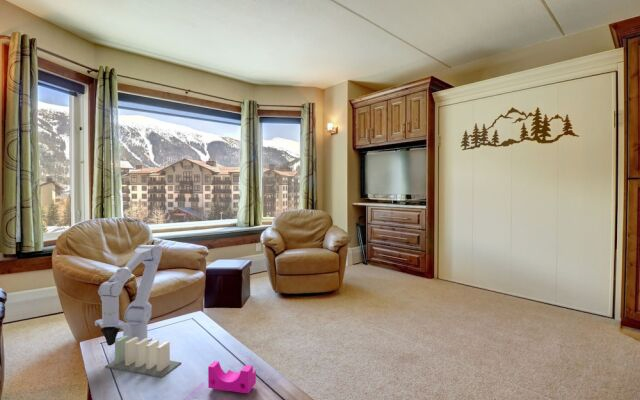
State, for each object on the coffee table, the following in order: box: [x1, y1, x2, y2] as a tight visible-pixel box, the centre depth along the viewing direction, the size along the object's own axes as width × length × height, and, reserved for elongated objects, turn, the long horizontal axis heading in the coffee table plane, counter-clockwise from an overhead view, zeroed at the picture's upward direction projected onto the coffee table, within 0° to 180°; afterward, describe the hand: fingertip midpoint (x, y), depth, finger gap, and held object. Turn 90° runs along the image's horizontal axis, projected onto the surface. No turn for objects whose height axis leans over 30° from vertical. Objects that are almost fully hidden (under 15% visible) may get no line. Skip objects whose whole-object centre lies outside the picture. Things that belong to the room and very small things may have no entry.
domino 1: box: [125, 337, 139, 366], centre depth 127 cm, size 2×5×9 cm, turn 165°
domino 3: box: [146, 339, 160, 369], centre depth 124 cm, size 2×5×9 cm, turn 164°
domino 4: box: [156, 341, 171, 371], centre depth 123 cm, size 2×5×9 cm, turn 164°
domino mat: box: [104, 360, 182, 378], centre depth 125 cm, size 27×10×1 cm, turn 75°
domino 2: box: [135, 338, 150, 368], centre depth 125 cm, size 2×5×9 cm, turn 164°
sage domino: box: [114, 336, 129, 364], centre depth 128 cm, size 2×5×9 cm, turn 164°
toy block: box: [207, 360, 257, 394], centre depth 112 cm, size 15×6×8 cm, turn 77°
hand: (111, 344), depth 129 cm, fingers closed
